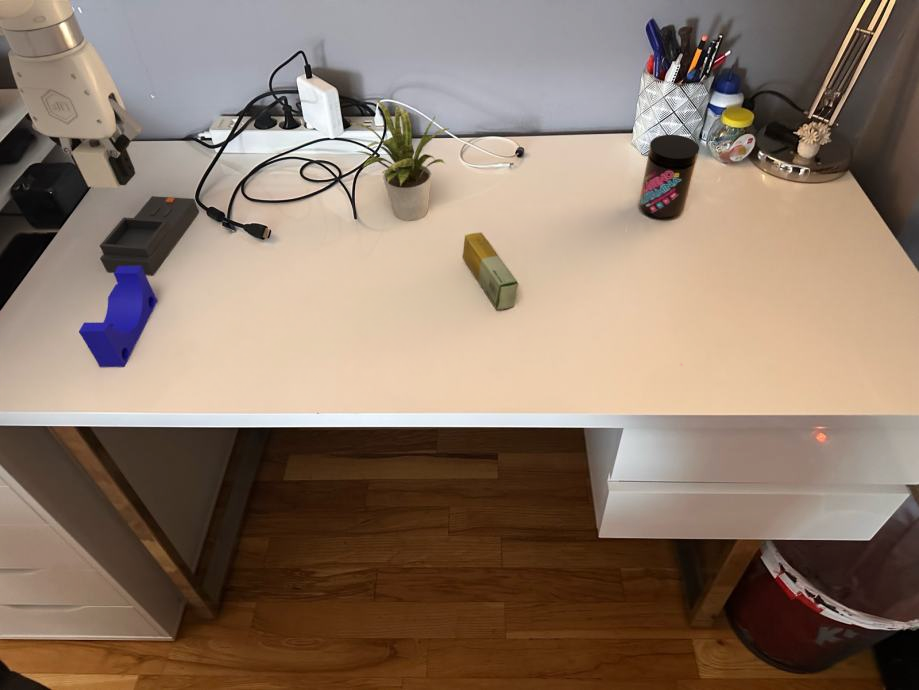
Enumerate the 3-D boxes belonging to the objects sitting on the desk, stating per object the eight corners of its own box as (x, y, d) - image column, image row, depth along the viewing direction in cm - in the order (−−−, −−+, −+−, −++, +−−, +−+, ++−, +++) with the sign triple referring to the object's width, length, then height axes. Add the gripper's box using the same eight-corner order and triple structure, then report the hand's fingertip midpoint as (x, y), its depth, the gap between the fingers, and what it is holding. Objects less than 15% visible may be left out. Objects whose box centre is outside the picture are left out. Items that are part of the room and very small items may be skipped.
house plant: (340, 204, 105) (322, 104, 93) (414, 174, 110) (405, 76, 99) (390, 248, 97) (377, 144, 85) (466, 213, 102) (464, 111, 91)
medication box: (515, 307, 87) (520, 283, 84) (497, 311, 86) (500, 287, 83) (478, 253, 95) (481, 230, 92) (461, 257, 94) (463, 233, 91)
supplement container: (631, 199, 104) (642, 137, 96) (673, 194, 104) (687, 132, 97) (647, 224, 99) (660, 161, 91) (691, 219, 100) (707, 155, 92)
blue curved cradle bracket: (124, 301, 90) (106, 266, 86) (157, 301, 90) (141, 265, 86) (87, 366, 82) (65, 331, 77) (124, 366, 81) (104, 331, 77)
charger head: (88, 187, 87) (68, 147, 83) (104, 170, 90) (86, 131, 86) (118, 188, 87) (100, 149, 83) (133, 171, 89) (117, 132, 85)
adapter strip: (106, 272, 94) (95, 249, 92) (157, 209, 105) (148, 187, 102) (153, 275, 94) (142, 252, 91) (199, 212, 104) (191, 189, 102)
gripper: (-45, 46, 74) (35, 190, 87) (97, 51, 72) (157, 198, 85) (-2, 21, 79) (67, 160, 92) (131, 24, 77) (182, 167, 90)
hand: (110, 177), depth 88 cm, fingers closed on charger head, 4 cm apart
